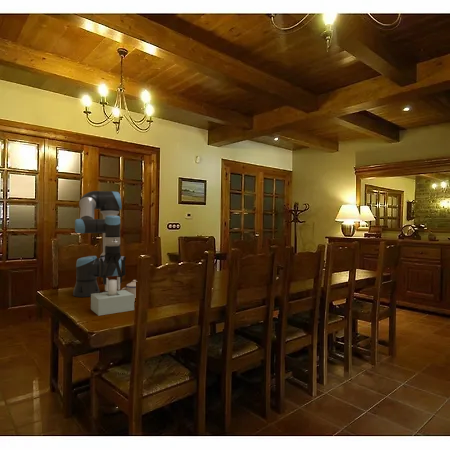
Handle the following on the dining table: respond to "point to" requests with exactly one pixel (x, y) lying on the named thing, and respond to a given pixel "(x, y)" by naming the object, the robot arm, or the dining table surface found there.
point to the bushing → (112, 287)
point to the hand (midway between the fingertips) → (112, 289)
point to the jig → (112, 302)
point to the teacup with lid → (131, 288)
